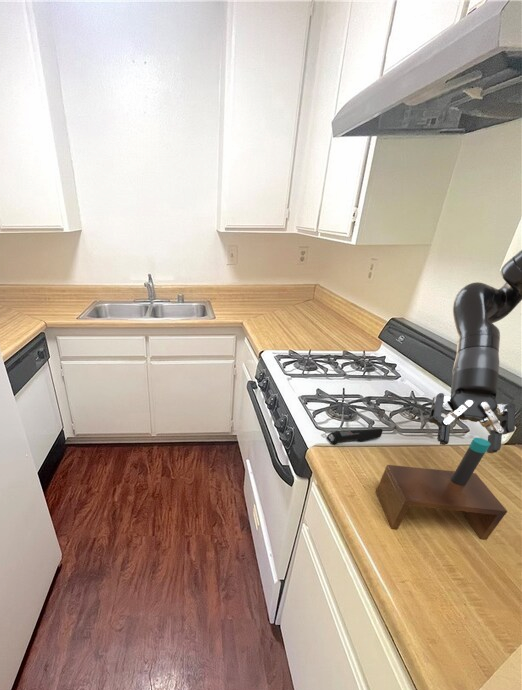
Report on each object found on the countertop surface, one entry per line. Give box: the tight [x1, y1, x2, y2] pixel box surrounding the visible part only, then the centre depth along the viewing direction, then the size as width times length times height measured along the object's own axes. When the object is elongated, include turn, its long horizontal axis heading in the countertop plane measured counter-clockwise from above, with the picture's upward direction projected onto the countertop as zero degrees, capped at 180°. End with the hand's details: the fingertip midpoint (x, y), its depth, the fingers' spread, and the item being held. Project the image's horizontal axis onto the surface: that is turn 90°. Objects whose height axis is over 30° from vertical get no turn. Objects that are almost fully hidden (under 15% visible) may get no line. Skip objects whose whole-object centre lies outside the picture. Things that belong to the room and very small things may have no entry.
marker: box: [451, 437, 490, 486], centre depth 68 cm, size 3×3×10 cm
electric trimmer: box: [326, 428, 383, 445], centre depth 96 cm, size 4×16×3 cm, turn 100°
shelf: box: [375, 464, 508, 541], centre depth 71 cm, size 18×11×8 cm, turn 82°
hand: (467, 448), depth 70 cm, fingers open, 8 cm apart
